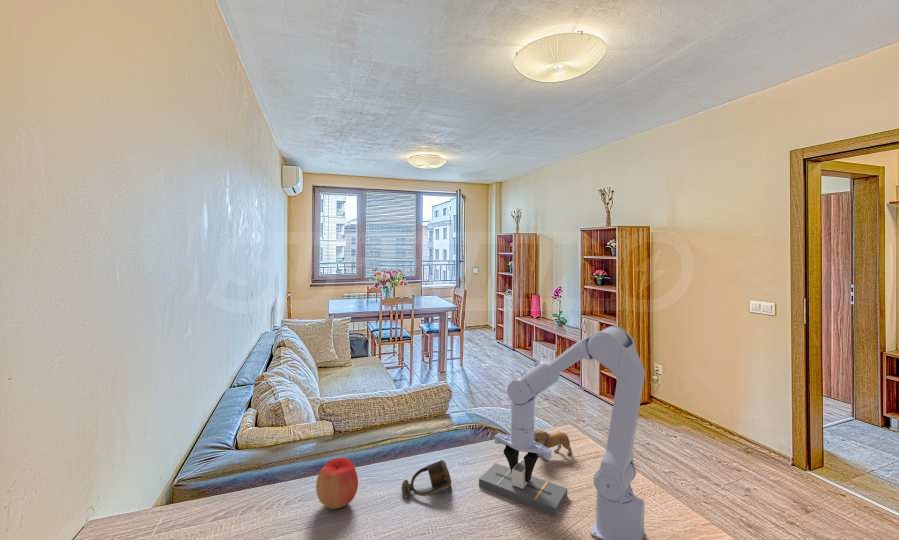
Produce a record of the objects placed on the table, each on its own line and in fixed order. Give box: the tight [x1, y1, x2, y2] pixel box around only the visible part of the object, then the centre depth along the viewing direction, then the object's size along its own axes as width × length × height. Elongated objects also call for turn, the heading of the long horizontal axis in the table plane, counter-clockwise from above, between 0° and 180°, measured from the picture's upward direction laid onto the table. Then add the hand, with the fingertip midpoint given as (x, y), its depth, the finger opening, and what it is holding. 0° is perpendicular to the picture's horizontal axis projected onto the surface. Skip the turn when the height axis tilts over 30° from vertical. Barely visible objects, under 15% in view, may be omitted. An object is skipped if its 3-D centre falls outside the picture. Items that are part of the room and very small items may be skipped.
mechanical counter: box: [401, 459, 453, 499], centre depth 97 cm, size 7×13×10 cm
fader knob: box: [512, 459, 528, 489], centre depth 97 cm, size 3×5×4 cm, turn 146°
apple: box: [315, 457, 359, 510], centre depth 91 cm, size 10×10×10 cm
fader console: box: [478, 462, 568, 518], centre depth 97 cm, size 20×9×2 cm, turn 56°
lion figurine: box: [534, 429, 573, 462], centre depth 114 cm, size 15×5×9 cm, turn 118°
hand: (521, 477), depth 97 cm, fingers closed on fader knob, 3 cm apart
